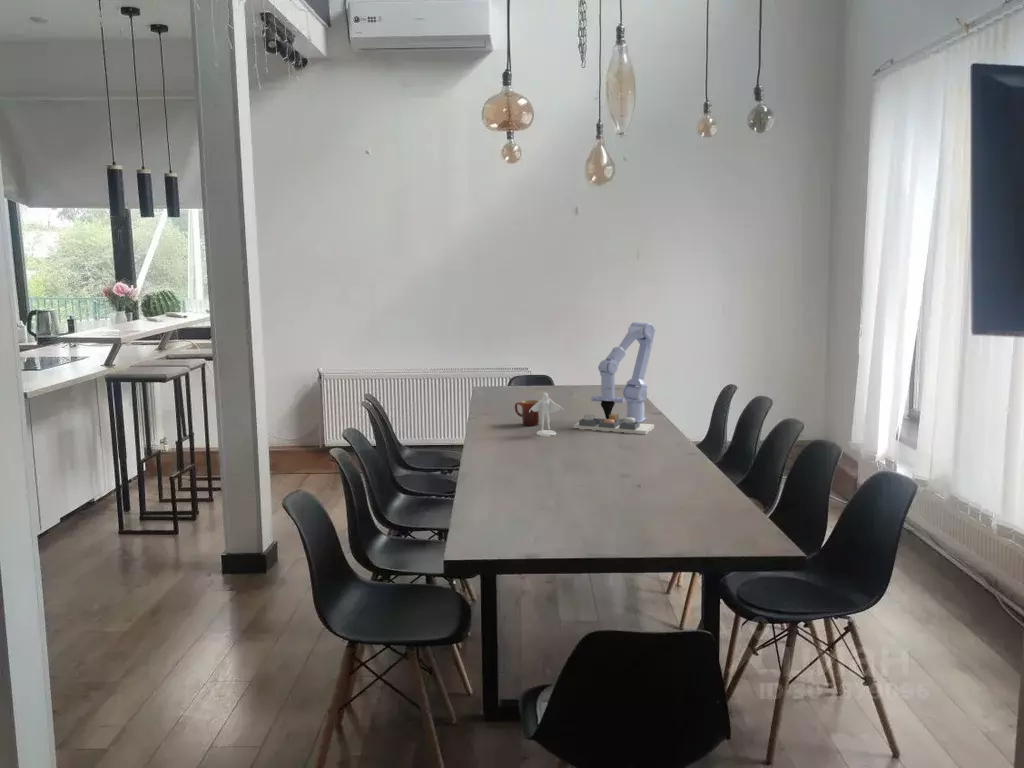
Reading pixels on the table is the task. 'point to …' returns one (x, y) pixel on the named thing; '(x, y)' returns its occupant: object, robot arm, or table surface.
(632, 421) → the grey button
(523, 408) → the mug
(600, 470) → the table surface
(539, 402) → the figurine
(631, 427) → the panel
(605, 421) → the terracotta button
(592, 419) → the grey button
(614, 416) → the brass slider
